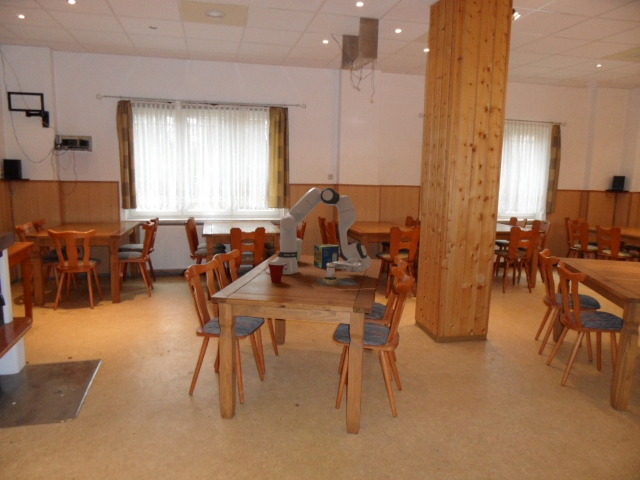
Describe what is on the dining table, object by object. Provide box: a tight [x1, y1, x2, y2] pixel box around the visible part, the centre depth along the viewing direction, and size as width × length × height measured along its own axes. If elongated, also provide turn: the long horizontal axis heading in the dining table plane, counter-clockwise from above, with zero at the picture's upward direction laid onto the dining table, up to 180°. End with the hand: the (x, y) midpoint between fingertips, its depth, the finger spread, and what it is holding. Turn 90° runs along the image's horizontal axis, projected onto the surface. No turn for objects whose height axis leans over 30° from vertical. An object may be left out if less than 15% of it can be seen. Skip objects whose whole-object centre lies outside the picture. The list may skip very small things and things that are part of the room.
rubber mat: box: [315, 278, 359, 287], centre depth 276 cm, size 23×17×1 cm
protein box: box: [313, 243, 340, 269], centre depth 328 cm, size 10×15×16 cm
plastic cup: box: [267, 261, 285, 284], centre depth 277 cm, size 11×11×12 cm
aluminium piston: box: [325, 263, 336, 280], centre depth 272 cm, size 5×5×12 cm
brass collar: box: [321, 276, 339, 286], centre depth 272 cm, size 10×10×3 cm
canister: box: [278, 237, 304, 263], centre depth 343 cm, size 18×18×21 cm
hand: (339, 267), depth 277 cm, fingers open, 8 cm apart
